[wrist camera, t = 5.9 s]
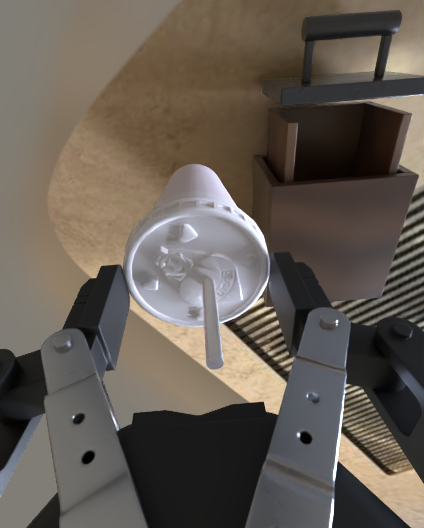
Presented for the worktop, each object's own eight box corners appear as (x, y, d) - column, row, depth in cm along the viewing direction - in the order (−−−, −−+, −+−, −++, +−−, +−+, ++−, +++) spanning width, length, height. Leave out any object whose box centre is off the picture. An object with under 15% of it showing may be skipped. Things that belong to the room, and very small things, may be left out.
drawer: (263, 23, 27) (285, 15, 21) (393, 13, 28) (455, 2, 21) (258, 203, 37) (273, 236, 30) (355, 195, 37) (391, 226, 31)
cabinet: (253, 155, 35) (272, 186, 27) (367, 146, 35) (419, 174, 27) (251, 259, 42) (266, 307, 34) (345, 251, 42) (381, 297, 35)
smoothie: (207, 246, 24) (223, 431, 13) (129, 203, 22) (62, 381, 10) (260, 177, 21) (345, 333, 10) (178, 120, 19) (161, 234, 7)
